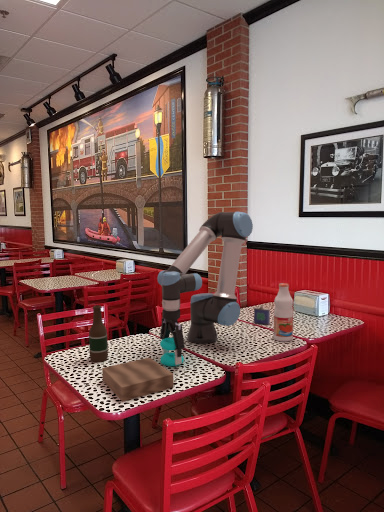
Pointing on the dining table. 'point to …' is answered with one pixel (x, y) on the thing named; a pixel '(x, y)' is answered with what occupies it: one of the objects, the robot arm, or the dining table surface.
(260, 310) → the flask
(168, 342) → the donuts
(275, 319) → the fruit juice
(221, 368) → the dining table surface
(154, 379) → the walnut stand
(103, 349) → the beer bottle
